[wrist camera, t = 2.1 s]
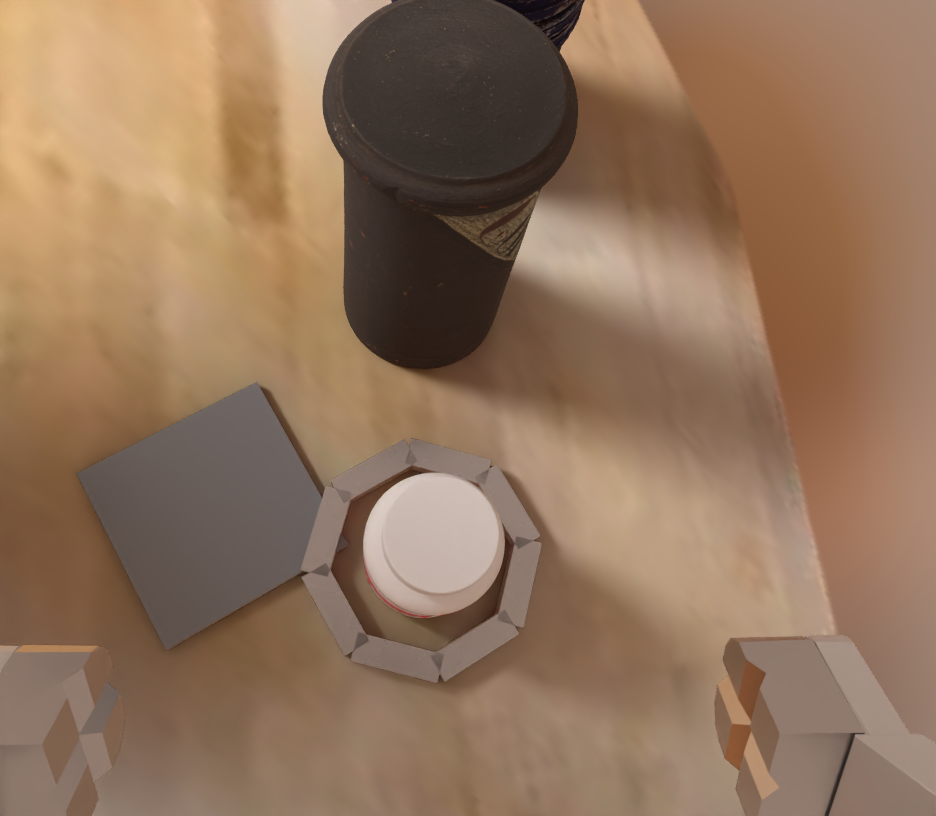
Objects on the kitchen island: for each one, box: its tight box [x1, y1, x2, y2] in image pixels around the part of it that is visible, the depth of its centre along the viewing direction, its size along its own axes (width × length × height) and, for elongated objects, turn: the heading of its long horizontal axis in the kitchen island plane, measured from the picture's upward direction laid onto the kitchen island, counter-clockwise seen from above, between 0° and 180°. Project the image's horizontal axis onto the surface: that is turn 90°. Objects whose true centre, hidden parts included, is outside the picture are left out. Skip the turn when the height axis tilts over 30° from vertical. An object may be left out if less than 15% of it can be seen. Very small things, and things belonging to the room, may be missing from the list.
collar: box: [301, 438, 542, 683], centre depth 42 cm, size 12×12×1 cm
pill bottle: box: [363, 473, 505, 618], centre depth 37 cm, size 6×6×11 cm
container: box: [323, 0, 578, 369], centre depth 37 cm, size 9×9×20 cm
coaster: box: [76, 382, 348, 650], centre depth 42 cm, size 10×10×1 cm
